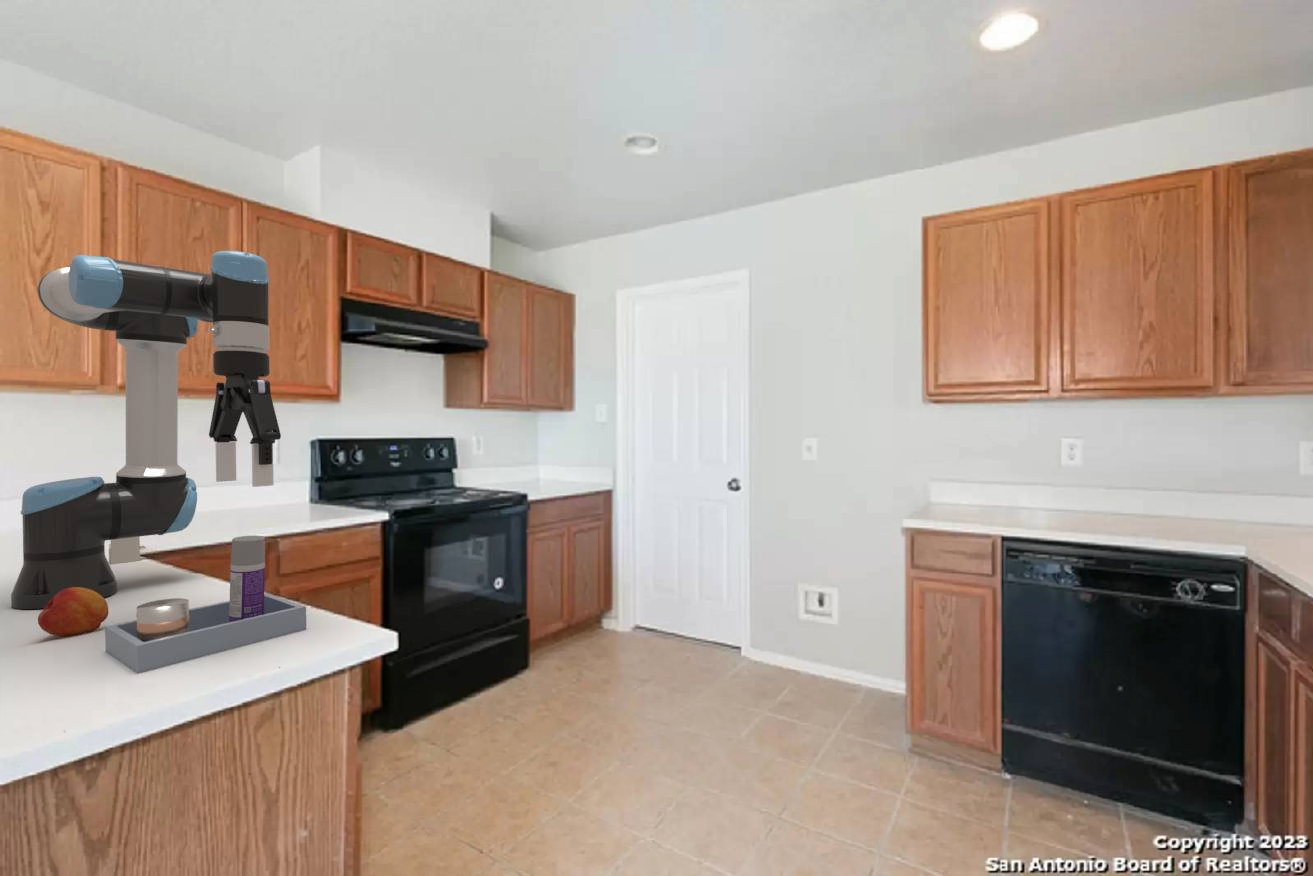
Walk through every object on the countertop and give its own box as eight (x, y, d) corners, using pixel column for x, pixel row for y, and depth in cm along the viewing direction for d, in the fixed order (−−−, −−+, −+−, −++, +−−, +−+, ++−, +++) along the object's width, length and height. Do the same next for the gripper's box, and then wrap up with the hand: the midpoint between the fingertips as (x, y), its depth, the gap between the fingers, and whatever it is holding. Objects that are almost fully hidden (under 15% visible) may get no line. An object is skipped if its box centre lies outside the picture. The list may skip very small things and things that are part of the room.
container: (265, 624, 105) (268, 535, 104) (260, 633, 100) (262, 540, 100) (232, 626, 103) (235, 535, 102) (225, 636, 99) (227, 541, 98)
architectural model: (108, 564, 155) (107, 534, 155) (144, 560, 160) (143, 531, 160) (110, 566, 153) (109, 536, 153) (146, 562, 158) (145, 532, 158)
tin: (131, 653, 92) (130, 605, 92) (181, 641, 97) (180, 596, 97) (145, 662, 88) (144, 612, 88) (196, 649, 93) (195, 602, 93)
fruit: (49, 633, 103) (48, 584, 103) (113, 625, 107) (112, 578, 107) (32, 647, 97) (31, 596, 96) (101, 638, 101) (100, 589, 100)
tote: (105, 656, 93) (105, 626, 93) (267, 618, 111) (266, 593, 111) (137, 679, 85) (137, 645, 84) (306, 633, 103) (306, 606, 102)
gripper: (184, 354, 105) (186, 480, 105) (250, 343, 90) (252, 490, 91) (234, 357, 111) (237, 477, 112) (304, 348, 97) (306, 486, 97)
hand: (244, 483), depth 101 cm, fingers open, 13 cm apart
